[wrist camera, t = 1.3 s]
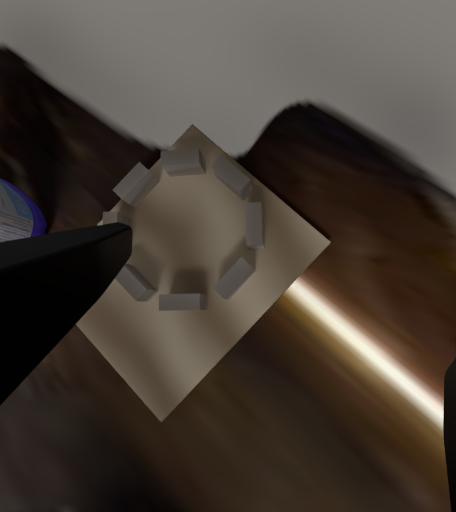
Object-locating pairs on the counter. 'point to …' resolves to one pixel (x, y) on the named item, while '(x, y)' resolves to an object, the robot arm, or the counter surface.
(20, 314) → the robot arm
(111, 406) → the counter surface
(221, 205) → the collar plate
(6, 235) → the bottle
